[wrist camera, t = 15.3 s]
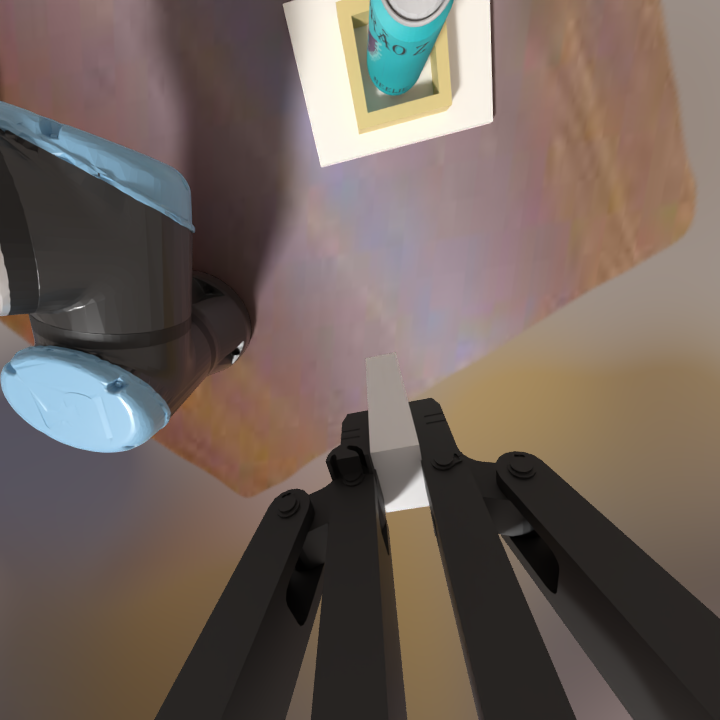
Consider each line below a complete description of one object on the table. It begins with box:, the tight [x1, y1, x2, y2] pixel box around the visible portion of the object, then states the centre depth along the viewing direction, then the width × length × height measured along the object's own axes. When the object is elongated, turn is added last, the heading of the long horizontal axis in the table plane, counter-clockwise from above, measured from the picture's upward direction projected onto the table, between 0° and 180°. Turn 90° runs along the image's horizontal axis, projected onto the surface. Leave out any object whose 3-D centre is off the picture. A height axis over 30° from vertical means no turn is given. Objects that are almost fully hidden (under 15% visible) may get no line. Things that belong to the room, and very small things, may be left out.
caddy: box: [283, 0, 493, 167], centre depth 32 cm, size 20×14×4 cm
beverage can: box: [367, 0, 454, 96], centre depth 26 cm, size 6×6×15 cm
